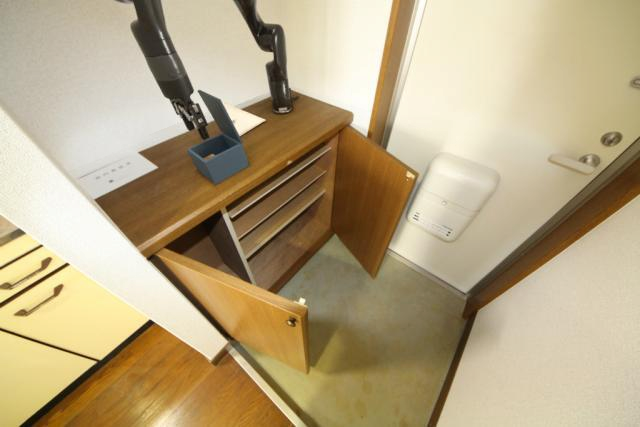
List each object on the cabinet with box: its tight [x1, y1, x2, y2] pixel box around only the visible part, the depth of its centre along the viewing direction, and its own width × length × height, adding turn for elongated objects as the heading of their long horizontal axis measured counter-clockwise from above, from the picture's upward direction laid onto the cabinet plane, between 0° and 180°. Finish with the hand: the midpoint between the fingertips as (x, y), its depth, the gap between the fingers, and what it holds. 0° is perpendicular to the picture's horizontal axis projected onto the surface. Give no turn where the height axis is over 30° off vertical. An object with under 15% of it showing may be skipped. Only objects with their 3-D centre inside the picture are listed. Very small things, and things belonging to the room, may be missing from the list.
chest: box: [185, 132, 250, 186], centre depth 77 cm, size 14×12×9 cm
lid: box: [197, 89, 243, 144], centre depth 70 cm, size 15×12×1 cm
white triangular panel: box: [222, 101, 267, 137], centre depth 97 cm, size 15×6×20 cm
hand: (198, 134), depth 68 cm, fingers open, 8 cm apart
